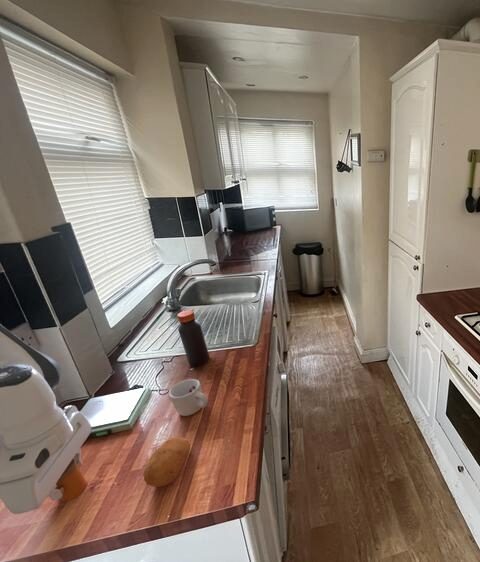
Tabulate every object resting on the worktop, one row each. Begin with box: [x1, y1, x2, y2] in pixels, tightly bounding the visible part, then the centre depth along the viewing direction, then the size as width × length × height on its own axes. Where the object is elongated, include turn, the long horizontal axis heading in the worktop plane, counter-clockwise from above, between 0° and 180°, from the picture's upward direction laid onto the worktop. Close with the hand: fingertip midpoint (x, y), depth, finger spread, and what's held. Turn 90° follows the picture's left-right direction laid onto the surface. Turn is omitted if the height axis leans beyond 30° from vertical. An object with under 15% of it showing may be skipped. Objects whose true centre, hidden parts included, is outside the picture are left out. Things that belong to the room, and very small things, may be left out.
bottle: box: [176, 309, 211, 368], centre depth 109 cm, size 7×7×20 cm
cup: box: [167, 378, 209, 417], centre depth 89 cm, size 11×8×8 cm
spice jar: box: [56, 459, 88, 502], centre depth 68 cm, size 5×5×7 cm
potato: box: [143, 436, 191, 488], centre depth 72 cm, size 7×13×7 cm, turn 8°
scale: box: [79, 387, 152, 440], centre depth 89 cm, size 16×16×3 cm
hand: (68, 481), depth 68 cm, fingers open, 5 cm apart
